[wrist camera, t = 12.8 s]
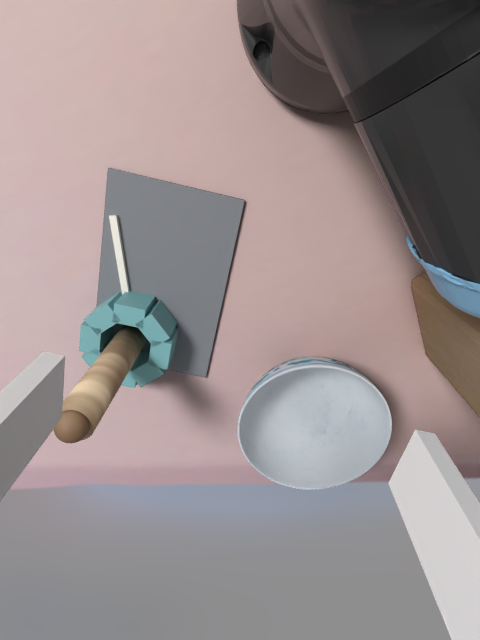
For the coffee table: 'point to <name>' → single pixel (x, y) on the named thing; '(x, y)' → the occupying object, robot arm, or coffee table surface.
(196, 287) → the mat
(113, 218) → the white stick
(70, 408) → the wooden rod
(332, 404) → the chinaware
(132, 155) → the coffee table surface
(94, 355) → the bead
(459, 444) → the coffee table surface
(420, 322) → the wooden block
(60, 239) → the coffee table surface
